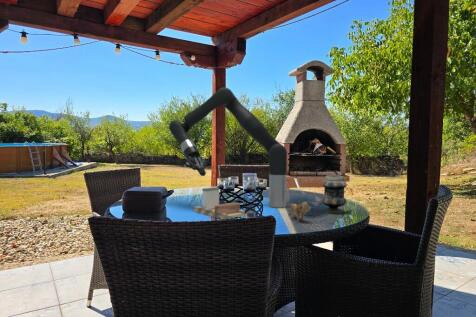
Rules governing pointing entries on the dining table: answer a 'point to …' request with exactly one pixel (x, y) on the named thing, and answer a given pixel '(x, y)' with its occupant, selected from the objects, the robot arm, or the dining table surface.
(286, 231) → the dining table surface
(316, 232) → the dining table surface
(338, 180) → the apothecary jar
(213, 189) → the pale grey rectangular block
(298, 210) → the lion figurine
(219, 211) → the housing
